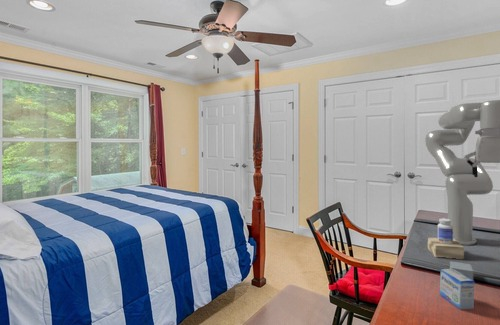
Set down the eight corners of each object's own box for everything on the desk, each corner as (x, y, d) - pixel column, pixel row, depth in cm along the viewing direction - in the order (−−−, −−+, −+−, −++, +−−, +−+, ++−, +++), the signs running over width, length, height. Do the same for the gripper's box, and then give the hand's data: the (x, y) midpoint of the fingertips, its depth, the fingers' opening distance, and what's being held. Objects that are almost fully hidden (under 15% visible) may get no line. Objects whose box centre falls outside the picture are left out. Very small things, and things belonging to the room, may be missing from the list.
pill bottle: (455, 244, 116) (455, 221, 115) (441, 244, 117) (441, 221, 116) (448, 240, 121) (449, 217, 120) (435, 239, 122) (435, 217, 122)
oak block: (427, 248, 126) (427, 237, 125) (453, 249, 123) (453, 238, 123) (435, 257, 116) (435, 245, 116) (463, 259, 113) (464, 247, 113)
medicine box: (439, 295, 89) (439, 269, 88) (452, 294, 89) (453, 267, 89) (460, 310, 81) (460, 281, 80) (474, 309, 81) (475, 280, 81)
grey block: (449, 271, 104) (449, 261, 104) (470, 275, 101) (470, 264, 101) (451, 278, 99) (451, 267, 99) (473, 282, 96) (473, 271, 96)
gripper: (465, 134, 109) (464, 177, 111) (526, 131, 100) (524, 179, 102) (463, 134, 116) (462, 175, 117) (520, 132, 107) (518, 176, 108)
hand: (491, 177), depth 109 cm, fingers open, 9 cm apart
